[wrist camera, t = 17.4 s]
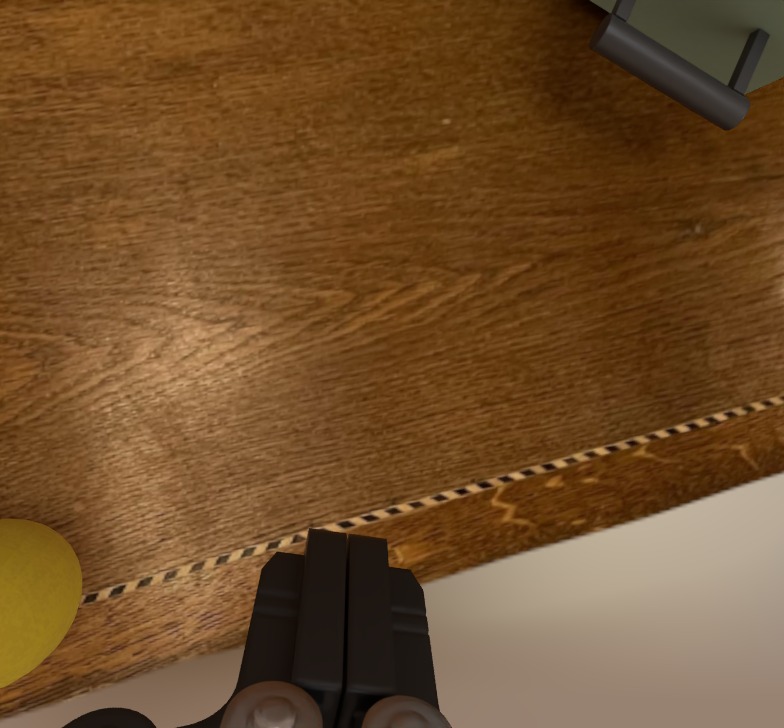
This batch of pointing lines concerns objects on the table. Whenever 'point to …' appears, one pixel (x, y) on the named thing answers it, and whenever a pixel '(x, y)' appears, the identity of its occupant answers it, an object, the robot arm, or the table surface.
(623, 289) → the table surface
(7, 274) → the table surface
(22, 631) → the lemon
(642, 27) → the drawer
